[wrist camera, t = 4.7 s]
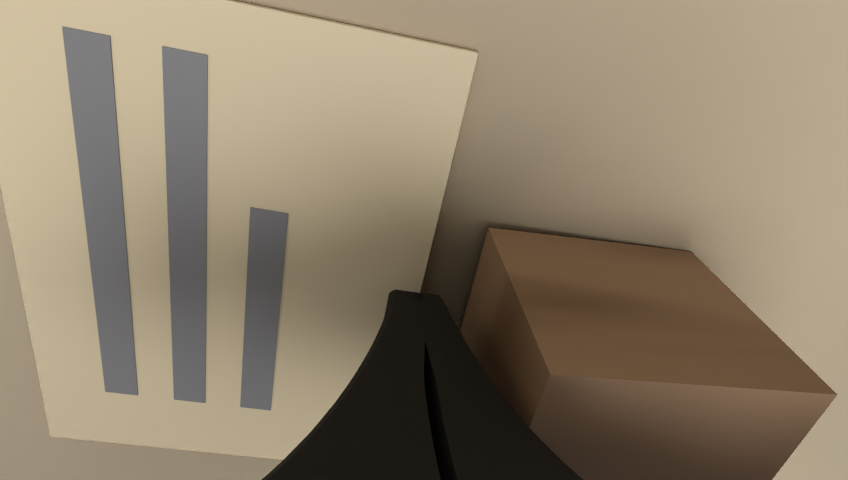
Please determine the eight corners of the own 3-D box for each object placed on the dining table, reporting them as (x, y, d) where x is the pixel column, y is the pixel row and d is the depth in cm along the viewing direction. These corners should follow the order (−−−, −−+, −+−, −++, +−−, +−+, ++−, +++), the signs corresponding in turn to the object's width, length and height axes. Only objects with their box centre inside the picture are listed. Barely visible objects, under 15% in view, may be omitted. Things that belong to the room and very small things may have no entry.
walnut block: (616, 402, 15) (703, 567, 11) (442, 391, 14) (473, 567, 10) (691, 251, 13) (836, 394, 9) (488, 227, 12) (550, 374, 8)
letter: (377, 463, 16) (376, 470, 16) (54, 430, 15) (49, 437, 14) (477, 51, 10) (478, 53, 10) (-39, -58, 9) (-50, -58, 9)
